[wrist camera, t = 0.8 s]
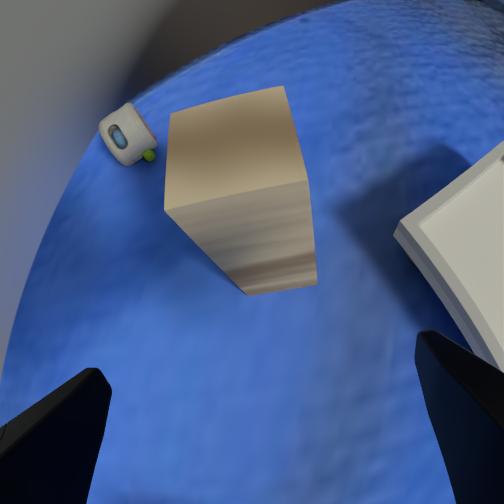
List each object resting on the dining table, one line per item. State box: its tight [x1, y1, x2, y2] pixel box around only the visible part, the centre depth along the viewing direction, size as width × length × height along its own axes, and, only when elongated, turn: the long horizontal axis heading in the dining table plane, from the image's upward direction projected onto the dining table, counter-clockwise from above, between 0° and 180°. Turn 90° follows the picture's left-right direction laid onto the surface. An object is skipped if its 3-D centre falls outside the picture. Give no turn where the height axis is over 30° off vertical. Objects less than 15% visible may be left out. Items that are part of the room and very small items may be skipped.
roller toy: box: [99, 103, 158, 166], centre depth 28 cm, size 4×6×6 cm
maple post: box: [164, 86, 317, 296], centre depth 17 cm, size 5×5×13 cm
